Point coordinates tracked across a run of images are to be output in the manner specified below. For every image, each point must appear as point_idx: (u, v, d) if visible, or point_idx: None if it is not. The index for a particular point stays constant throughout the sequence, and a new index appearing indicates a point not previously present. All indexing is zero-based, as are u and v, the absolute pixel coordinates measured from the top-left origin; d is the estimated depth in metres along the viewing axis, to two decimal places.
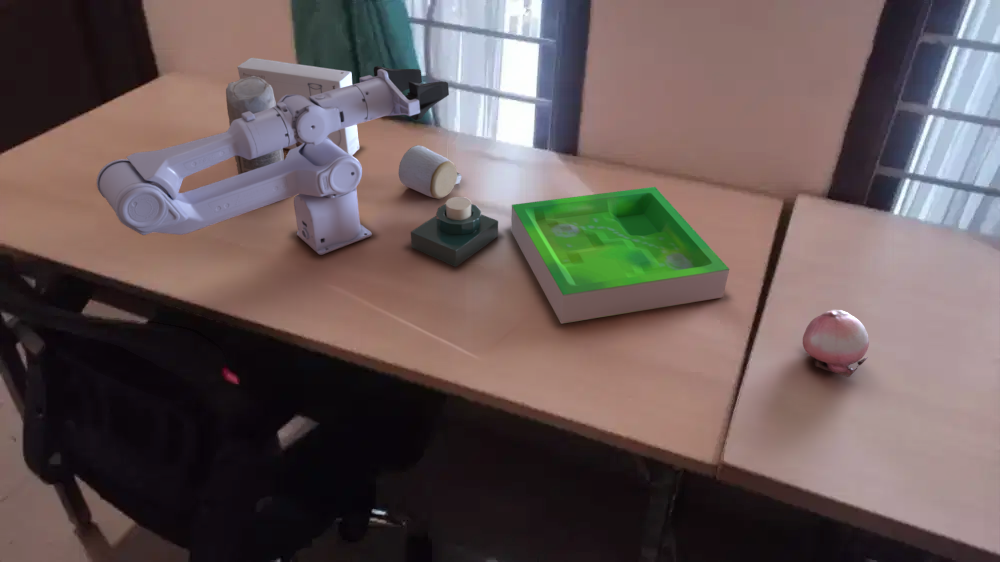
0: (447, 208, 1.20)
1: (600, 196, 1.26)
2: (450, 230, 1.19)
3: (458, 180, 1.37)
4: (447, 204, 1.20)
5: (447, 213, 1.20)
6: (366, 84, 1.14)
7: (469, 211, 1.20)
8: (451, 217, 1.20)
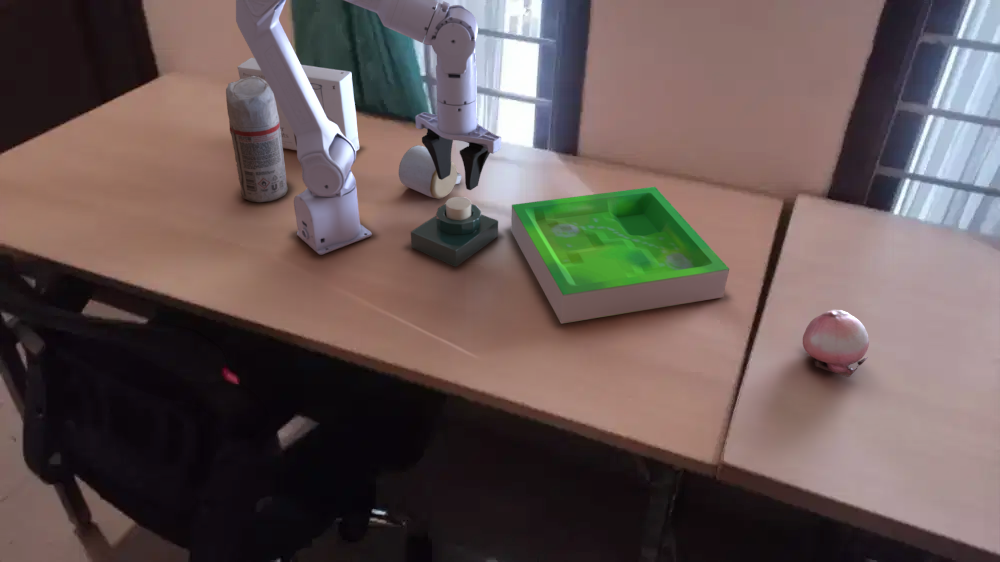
0: (447, 208, 1.20)
1: (600, 196, 1.26)
2: (450, 230, 1.19)
3: (458, 180, 1.37)
4: (447, 204, 1.20)
5: (447, 213, 1.20)
6: None
7: (469, 211, 1.20)
8: (451, 217, 1.20)
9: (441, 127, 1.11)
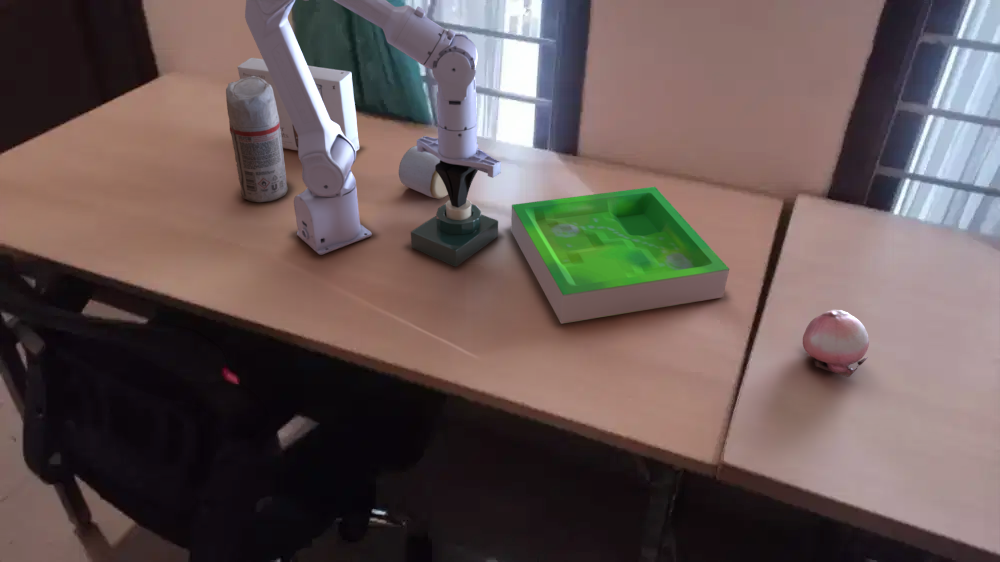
0: (447, 209, 1.20)
1: (600, 196, 1.26)
2: (450, 230, 1.19)
3: None
4: (447, 205, 1.20)
5: (447, 214, 1.20)
6: None
7: (469, 212, 1.20)
8: (451, 218, 1.20)
9: (442, 151, 1.13)
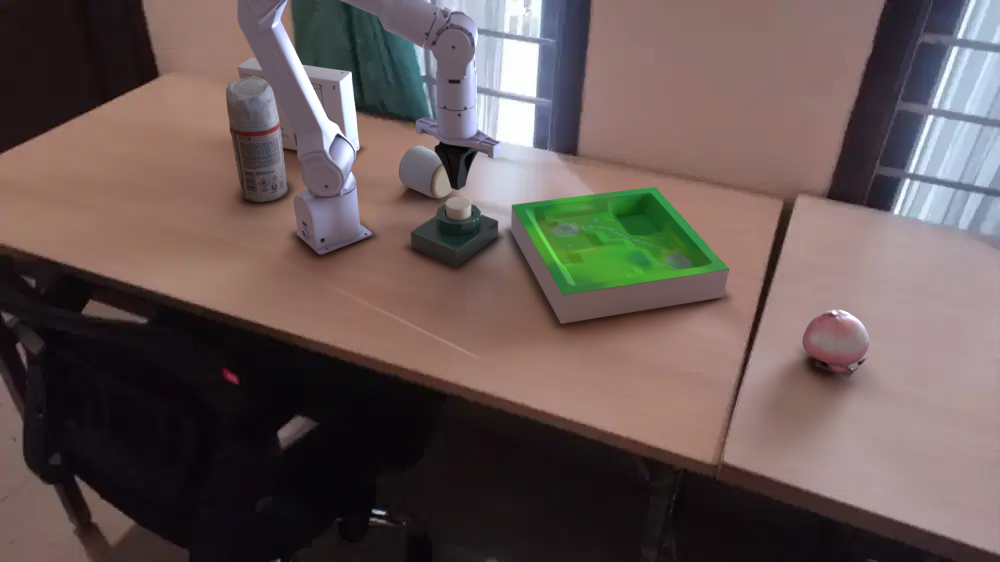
0: (447, 208, 1.20)
1: (600, 196, 1.26)
2: (450, 230, 1.19)
3: None
4: (447, 204, 1.20)
5: (447, 213, 1.20)
6: None
7: (469, 211, 1.20)
8: (451, 217, 1.20)
9: (441, 132, 1.11)
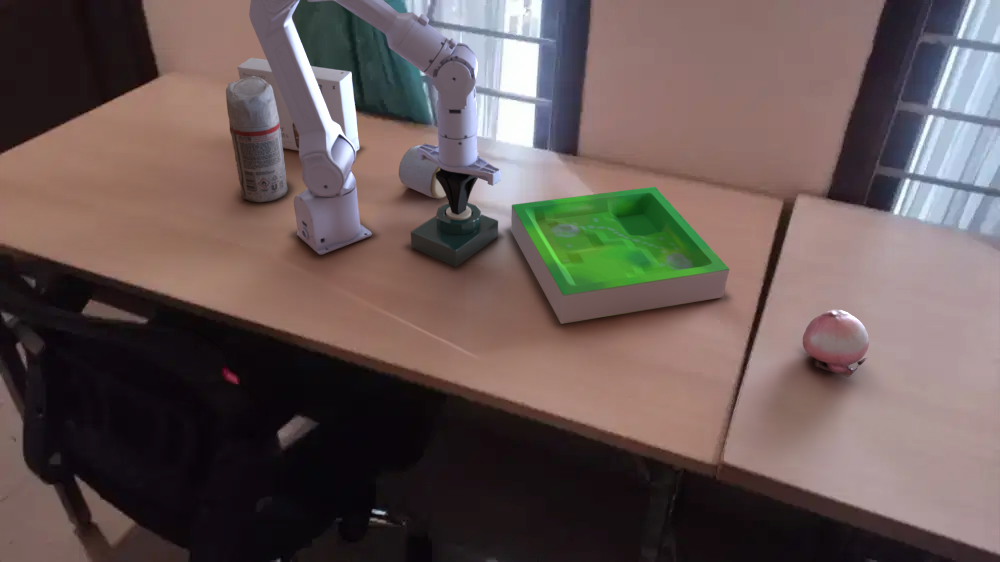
0: (447, 216, 1.21)
1: (600, 196, 1.26)
2: (450, 230, 1.19)
3: None
4: (447, 212, 1.21)
5: None
6: None
7: None
8: None
9: (442, 159, 1.14)
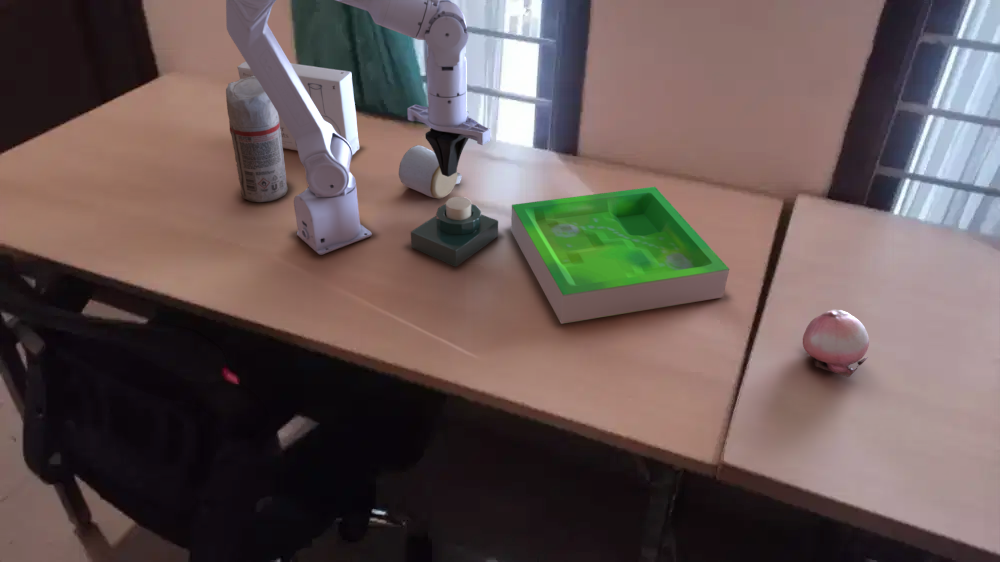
0: (447, 208, 1.20)
1: (600, 196, 1.26)
2: (450, 230, 1.19)
3: (458, 180, 1.37)
4: (447, 204, 1.20)
5: (447, 213, 1.20)
6: None
7: (469, 211, 1.20)
8: (451, 217, 1.20)
9: (432, 119, 1.13)
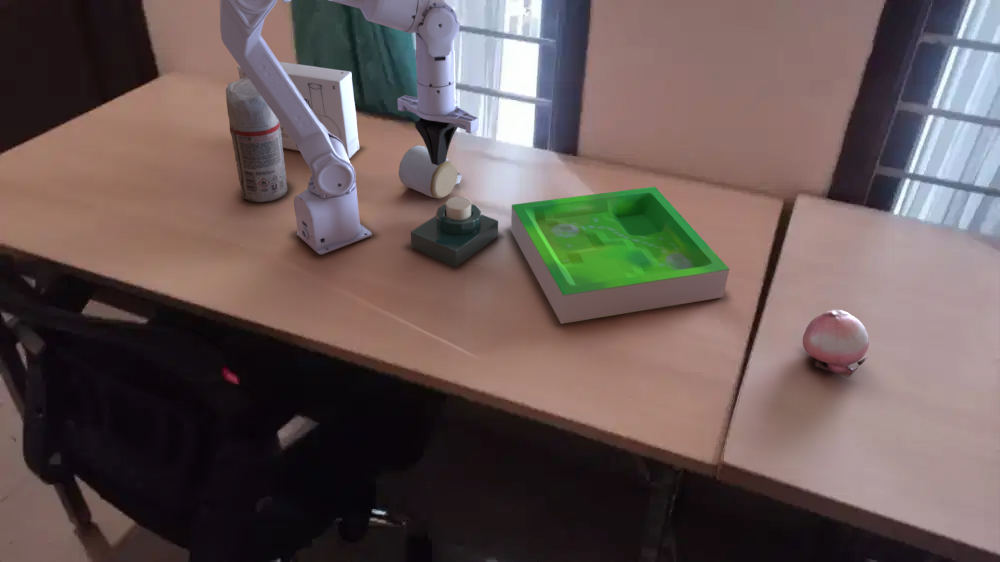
0: (447, 208, 1.20)
1: (600, 196, 1.26)
2: (450, 230, 1.19)
3: (458, 180, 1.37)
4: (447, 204, 1.20)
5: (447, 213, 1.20)
6: None
7: (469, 211, 1.20)
8: (451, 217, 1.20)
9: (421, 108, 1.16)
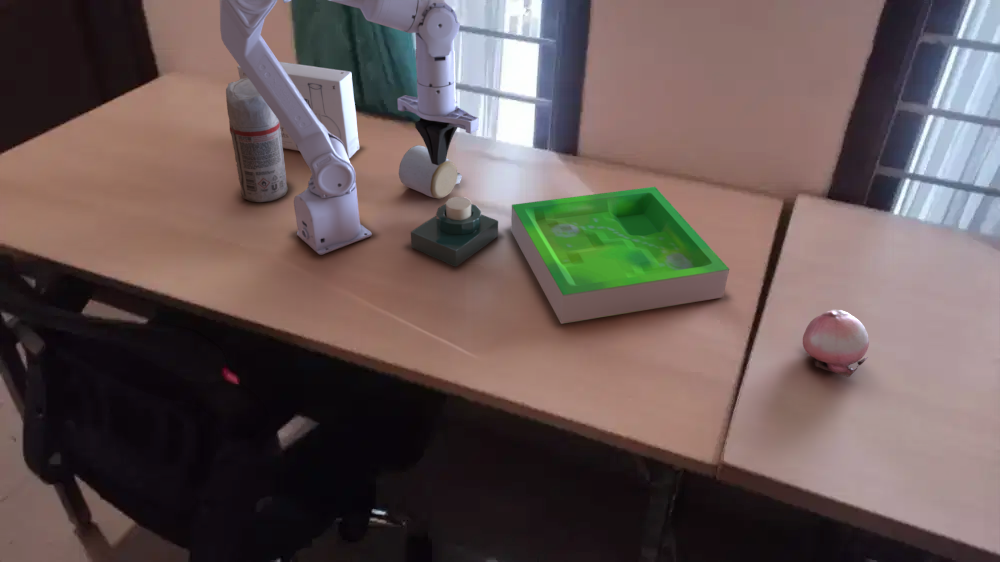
0: (447, 208, 1.20)
1: (600, 196, 1.26)
2: (450, 230, 1.19)
3: (458, 180, 1.37)
4: (447, 204, 1.20)
5: (447, 213, 1.20)
6: None
7: (469, 211, 1.20)
8: (451, 217, 1.20)
9: (421, 108, 1.16)
